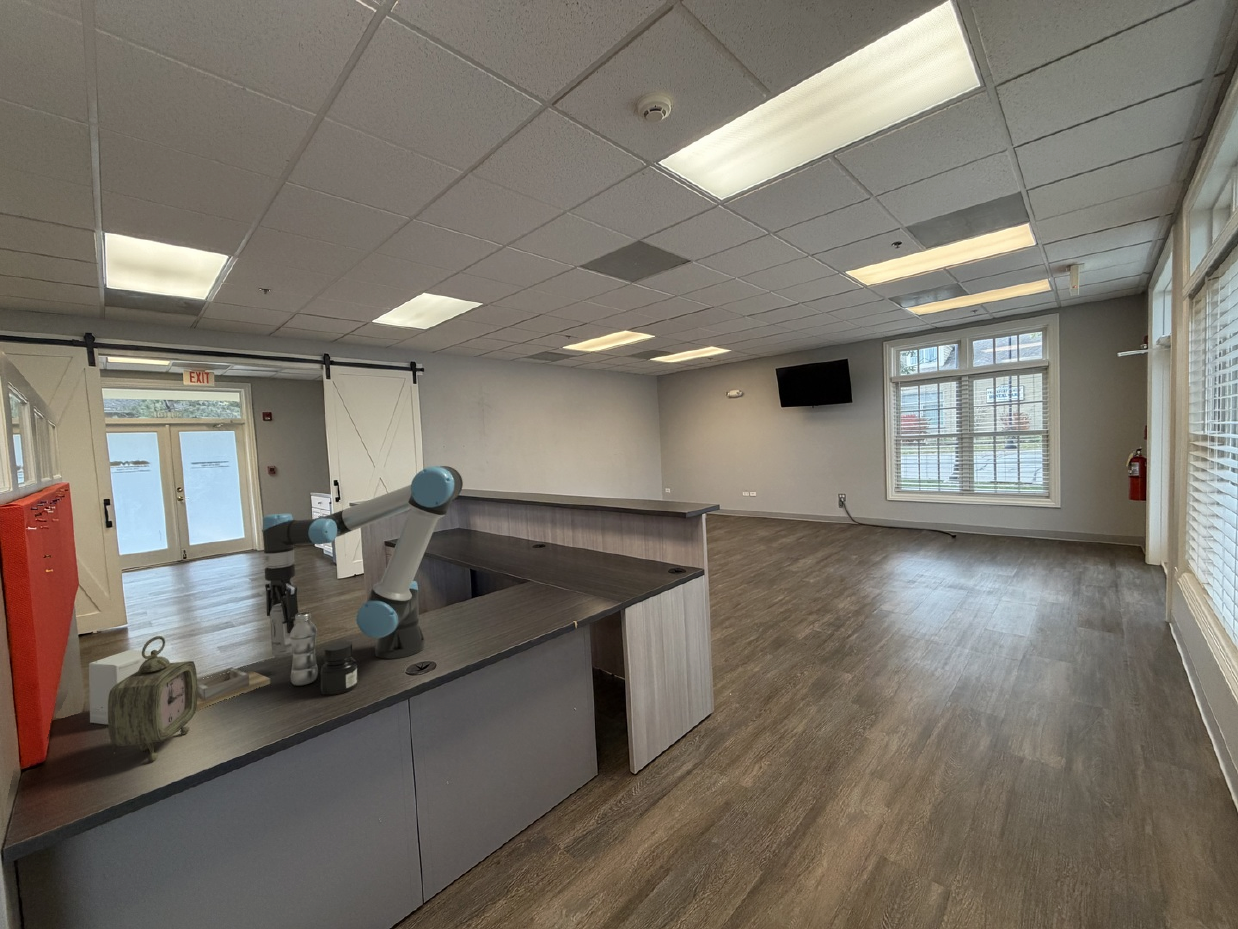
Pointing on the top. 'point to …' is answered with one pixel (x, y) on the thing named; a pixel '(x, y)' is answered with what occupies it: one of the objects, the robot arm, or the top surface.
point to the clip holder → (226, 685)
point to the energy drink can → (278, 633)
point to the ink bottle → (338, 669)
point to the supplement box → (110, 680)
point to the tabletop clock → (152, 702)
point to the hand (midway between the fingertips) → (283, 641)
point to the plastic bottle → (303, 650)
